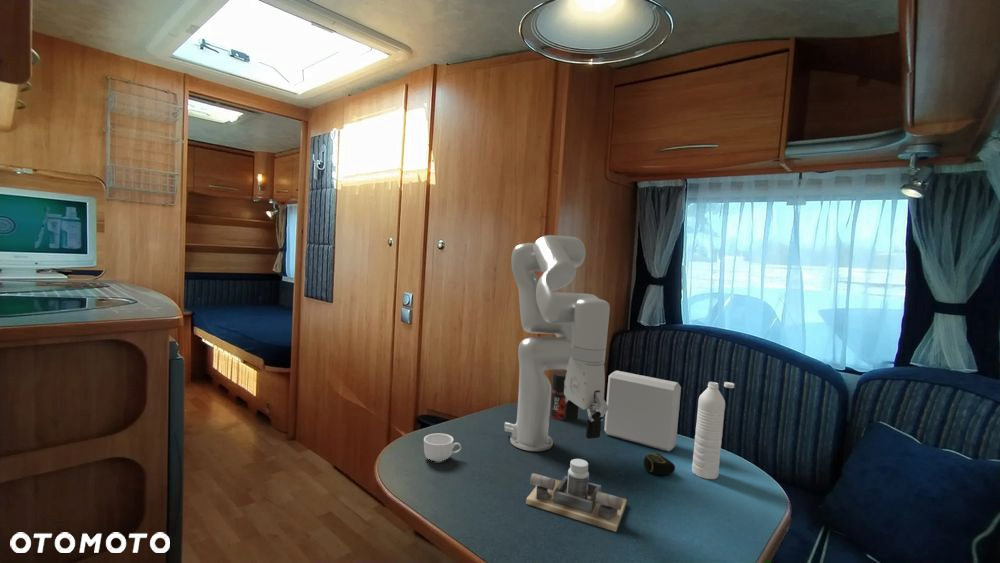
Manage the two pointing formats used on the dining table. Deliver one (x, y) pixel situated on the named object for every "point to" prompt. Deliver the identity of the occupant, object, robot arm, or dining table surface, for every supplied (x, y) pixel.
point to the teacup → (439, 446)
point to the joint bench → (577, 502)
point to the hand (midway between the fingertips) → (581, 428)
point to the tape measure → (658, 464)
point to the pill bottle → (578, 478)
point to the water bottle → (709, 432)
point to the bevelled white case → (642, 409)
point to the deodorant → (558, 396)
